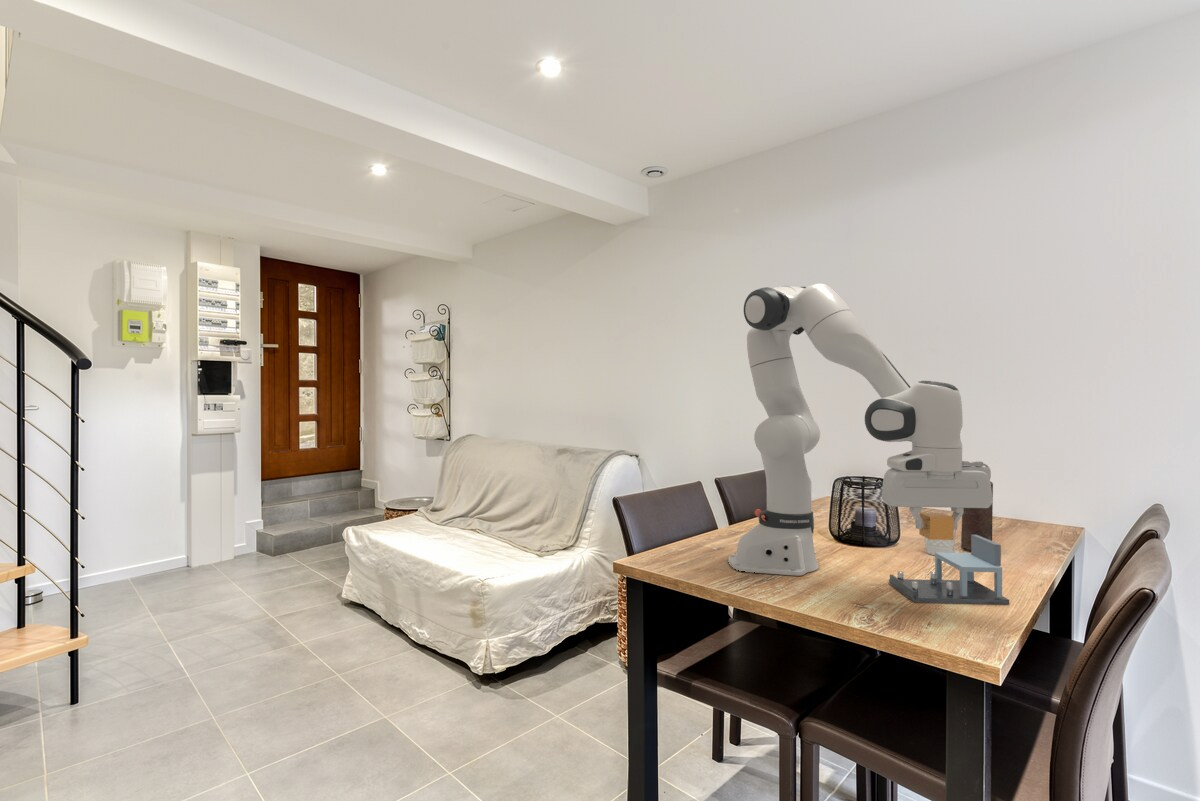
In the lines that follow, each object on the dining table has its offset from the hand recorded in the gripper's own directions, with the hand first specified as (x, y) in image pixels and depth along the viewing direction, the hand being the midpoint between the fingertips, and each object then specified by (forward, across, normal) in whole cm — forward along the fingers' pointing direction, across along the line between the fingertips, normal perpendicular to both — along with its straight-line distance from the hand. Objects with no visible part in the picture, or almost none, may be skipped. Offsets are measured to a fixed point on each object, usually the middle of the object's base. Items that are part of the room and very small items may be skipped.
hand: (936, 528), depth 118 cm
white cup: (+17, -22, -45) cm, 53 cm away
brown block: (+2, 0, 0) cm, 2 cm away
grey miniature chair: (+15, -12, -11) cm, 22 cm away
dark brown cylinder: (+17, -34, -49) cm, 62 cm away
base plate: (+16, -7, -11) cm, 21 cm away
